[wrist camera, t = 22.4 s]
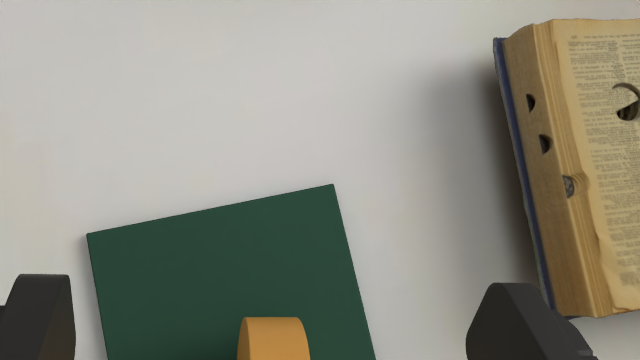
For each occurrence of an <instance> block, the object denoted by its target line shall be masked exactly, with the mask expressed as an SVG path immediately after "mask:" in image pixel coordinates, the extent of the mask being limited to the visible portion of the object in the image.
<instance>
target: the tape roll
mask: <svg viewBox="0 0 640 360" xmlns="http://www.w3.org/2000/svg"><path fill="white" fill-rule="evenodd" d="M237 360H310V354H309V348H308V342H307V338H306V334H305V330H304V327H303V325H302V323H301V321H300V319H299V318H297V317H245V318H243V320H242V323H241V327H240V333H239V341H238V351H237Z"/></svg>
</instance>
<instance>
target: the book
mask: <svg viewBox="0 0 640 360" xmlns="http://www.w3.org/2000/svg"><path fill="white" fill-rule="evenodd" d="M493 53H494V59H495V68H496V72H497V76H498V81H499V85H500V89H501V90H500V91H501V94H502V99H503V103H504V108H505V111H506V116H507V120H508V127H509V130H510V135H511V140H512V144H513V150H514V155H515V160H516V164H517V169H518V173H519V178H520V183H521V186H522V193H523V202H524V209H525V212H526V215H527V218H528V225H529V229H530V233H531V237H532V242H533V247H534V254H535V260H536V267H537V272H538V279H539V285H540V290H541V293H542V297H543V299H544V301H545V302H546V304H547V305H548V307H549V308H550V309H555V310H557V311H558V312H559V313H560V314H561V315H562V316H563V317H564V318H566V319H567V320H570V319H573V318H578V317H585V316H587V317H594V318H598V317H599V318H602V317H606V316H610V315H614V314H619V313H626V312H632V311H636V310H640V18H639V19H628V20H593V19H561V20H560V19H552V20H550V21H547V22H544V23H541V24H538V25H535V24H530V25H527V26H524V27H522V28H521V29H519V30H518V31H516V32H515V33H514V34H512V35H511V36H510V37H508V38H497V37H496V38H494V39H493Z"/></svg>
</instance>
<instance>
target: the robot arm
mask: <svg viewBox="0 0 640 360" xmlns="http://www.w3.org/2000/svg"><path fill="white" fill-rule="evenodd" d="M75 345H76V332H75V323H74V313H73V304H72V294H71V285H70V279H69V276H68V275H57V274H20V275H19V276H18V277H17V279H16V280H15V282H14V285H13V287H12V290H11V292H10V294H9V297H8V299H7V302H6V304H5V306H0V360H74V356H75ZM466 354H467V359H468V360H598V359H597V357H596V356H593V351H592V350H591V348H590V347H589V345H588V344H587V342H586V341H585V339H584V338H583V336H582V335H581V334H580V332H579V331H578V329H577V328H576V327H575V326H573V325H572V324H571V323H570V322H569V321H568V320H567V319H566V318H564V317H563V316H562V315H561V314H560V313H559V312H558V311H557V310H555V309H550V308H549V307H548V305H547V304H546V302H545V301H544V299H543V298H542V296H541V295H540V293H539V292H538V290H537V289H536V288H535V287H534V286H533V285H532V284H529V283H493V284H491V285H490V286H489V287H488V289H487V291H486V293H485V295H484V298H483V300H482V302H481V304H480V306H479V308H478V310H477V313H476V315H475V317H474V319H473V321H472V323H471V326H470V328H469V330H468V332H467V336H466Z"/></svg>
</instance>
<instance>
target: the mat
mask: <svg viewBox="0 0 640 360" xmlns="http://www.w3.org/2000/svg"><path fill="white" fill-rule="evenodd" d="M86 236H87V241H88V247H89V253H90V259H91V264H92V270H93V276H94V282H95V287H96V293H97V299H98V305H99V310H100V316H101V322H102V328H103V333H104V339H105V345H106V351H107V356H108V360H237V351H238V341H239V333H240V327H241V323H242V320H243V318H245V317H297V318H299V319H300V321H301V323H302V325H303V327H304V330H305V334H306V338H307V342H308V348H309V354H310V360H376V358H375V354H374V350H373V345H372V341H371V337H370V333H369V329H368V325H367V321H366V316H365V312H364V308H363V304H362V300H361V296H360V292H359V287H358V283H357V279H356V275H355V271H354V267H353V263H352V258H351V254H350V250H349V246H348V242H347V238H346V234H345V229H344V225H343V221H342V217H341V213H340V209H339V205H338V200H337V196H336V192H335V188H334V184H330V185H325V186H320V187H315V188H310V189H305V190H300V191H295V192H290V193H285V194H280V195H275V196H270V197H265V198H260V199H256V200H251V201H246V202H241V203H236V204H231V205H226V206H221V207H216V208H211V209H206V210H201V211H196V212H191V213H186V214H181V215H176V216H171V217H167V218H162V219H157V220H152V221H147V222H142V223H137V224H132V225H127V226H122V227H117V228H112V229H107V230H102V231H97V232H92V233H87V235H86Z"/></svg>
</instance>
